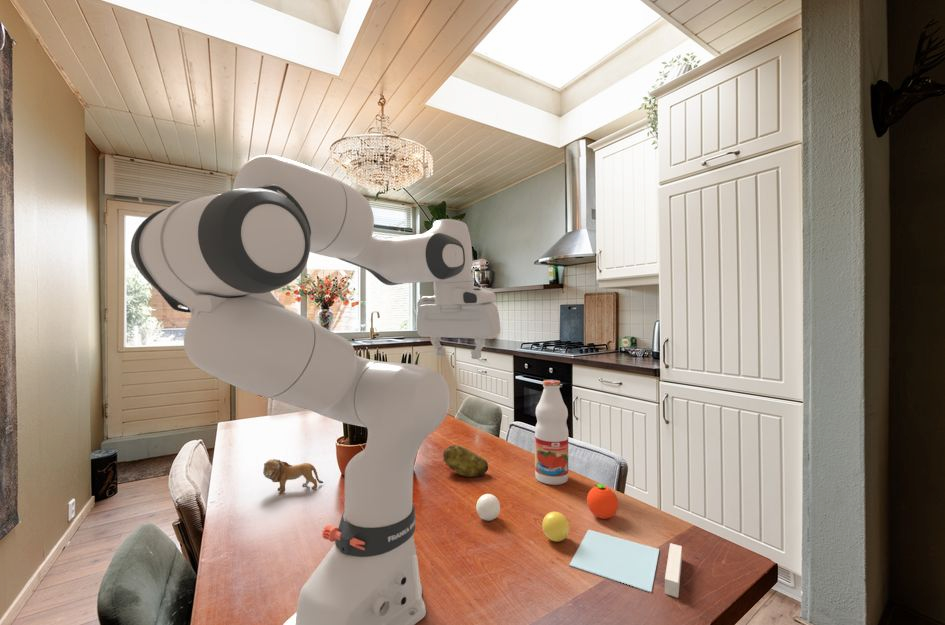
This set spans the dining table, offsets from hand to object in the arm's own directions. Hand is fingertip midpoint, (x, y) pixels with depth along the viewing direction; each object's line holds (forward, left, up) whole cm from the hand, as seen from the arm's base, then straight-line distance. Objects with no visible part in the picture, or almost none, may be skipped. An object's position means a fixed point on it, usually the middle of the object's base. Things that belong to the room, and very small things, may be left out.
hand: (458, 357), depth 87 cm
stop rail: (+6, -42, -37) cm, 57 cm away
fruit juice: (+35, -9, -38) cm, 52 cm away
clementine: (+21, -26, -38) cm, 51 cm away
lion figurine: (-8, +47, -38) cm, 61 cm away
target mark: (+6, -32, -37) cm, 50 cm away
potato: (+25, +14, -38) cm, 47 cm away
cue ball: (+6, -4, -35) cm, 35 cm away
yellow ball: (+6, -20, -35) cm, 41 cm away
